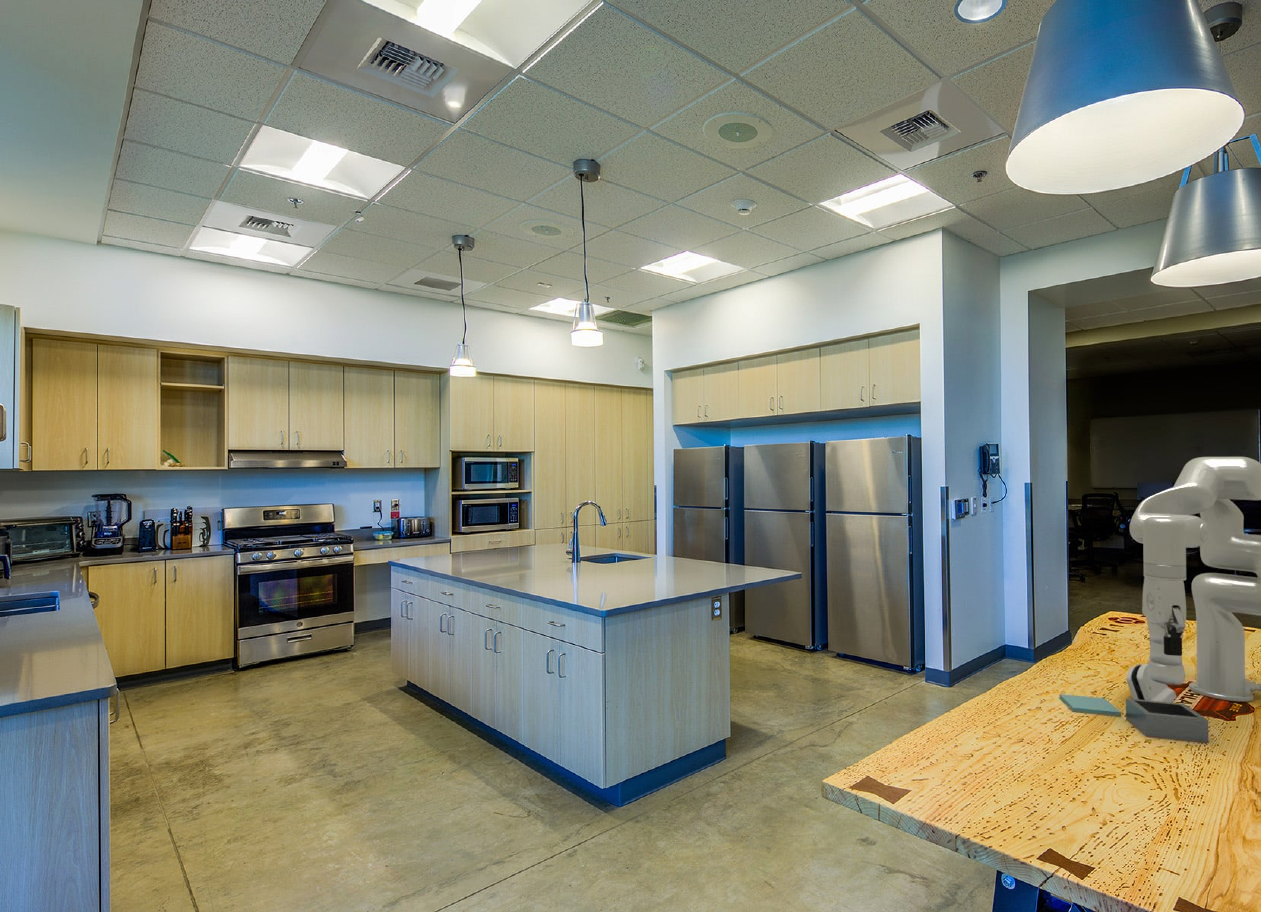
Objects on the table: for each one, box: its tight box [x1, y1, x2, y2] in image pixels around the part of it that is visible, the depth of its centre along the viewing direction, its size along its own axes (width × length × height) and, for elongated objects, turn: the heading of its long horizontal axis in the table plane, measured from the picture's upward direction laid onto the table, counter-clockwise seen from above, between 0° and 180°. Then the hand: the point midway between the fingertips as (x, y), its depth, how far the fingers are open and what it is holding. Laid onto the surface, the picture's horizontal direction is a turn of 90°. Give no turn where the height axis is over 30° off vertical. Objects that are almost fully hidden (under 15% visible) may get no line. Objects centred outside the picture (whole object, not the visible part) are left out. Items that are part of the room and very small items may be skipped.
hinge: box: [1125, 663, 1178, 703], centre depth 168 cm, size 17×5×10 cm, turn 129°
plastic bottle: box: [1145, 612, 1186, 686], centre depth 149 cm, size 6×7×20 cm
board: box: [1058, 693, 1122, 718], centre depth 163 cm, size 10×10×1 cm
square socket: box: [1125, 697, 1209, 744], centre depth 149 cm, size 11×10×5 cm
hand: (1165, 650), depth 149 cm, fingers closed on plastic bottle, 6 cm apart
